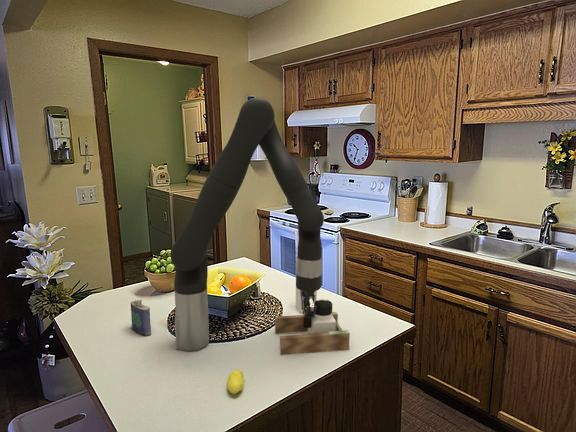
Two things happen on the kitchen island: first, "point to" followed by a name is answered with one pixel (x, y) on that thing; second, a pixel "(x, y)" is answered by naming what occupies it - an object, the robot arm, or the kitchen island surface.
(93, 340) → the kitchen island surface
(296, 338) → the bay
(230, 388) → the lemon
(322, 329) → the medicine bottle
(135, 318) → the flask
